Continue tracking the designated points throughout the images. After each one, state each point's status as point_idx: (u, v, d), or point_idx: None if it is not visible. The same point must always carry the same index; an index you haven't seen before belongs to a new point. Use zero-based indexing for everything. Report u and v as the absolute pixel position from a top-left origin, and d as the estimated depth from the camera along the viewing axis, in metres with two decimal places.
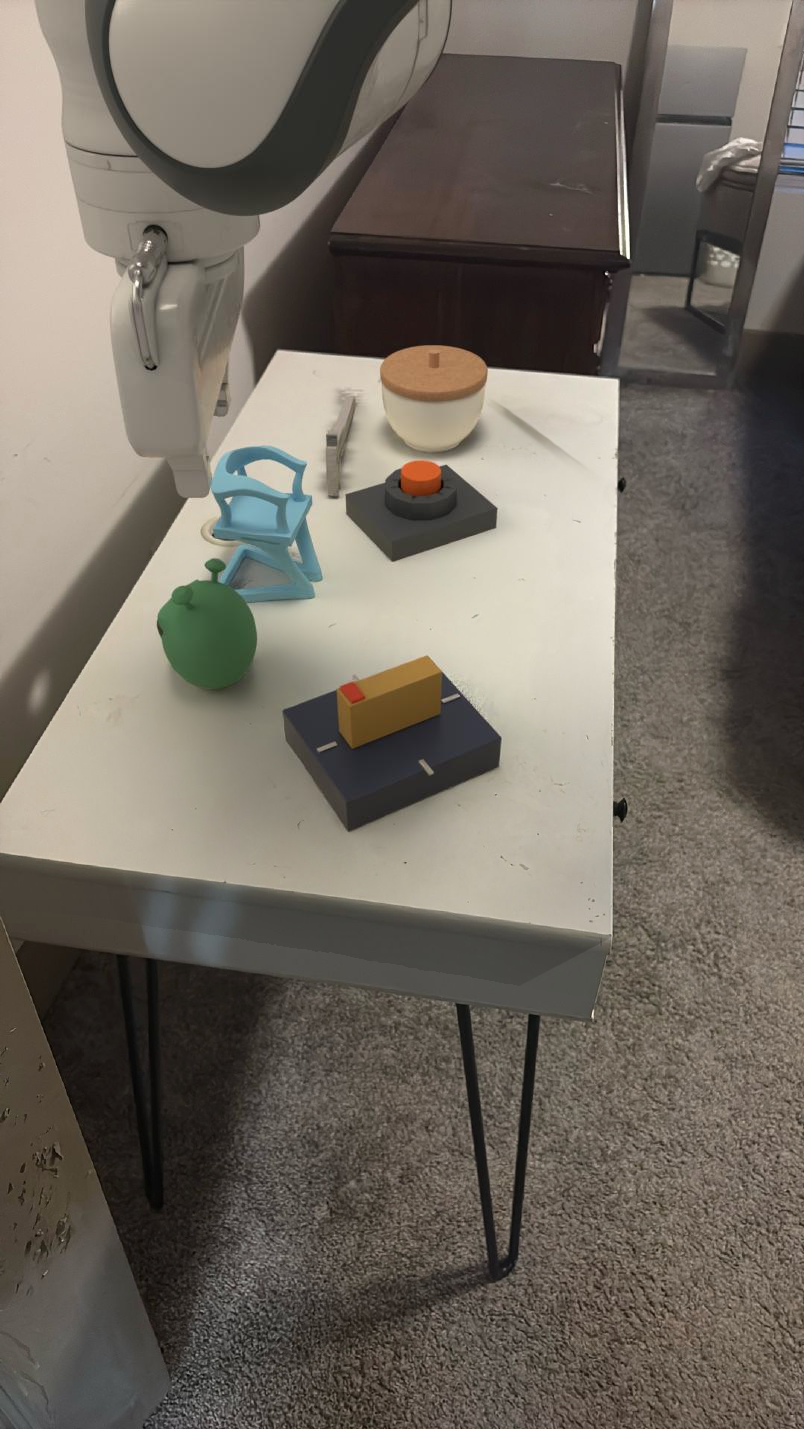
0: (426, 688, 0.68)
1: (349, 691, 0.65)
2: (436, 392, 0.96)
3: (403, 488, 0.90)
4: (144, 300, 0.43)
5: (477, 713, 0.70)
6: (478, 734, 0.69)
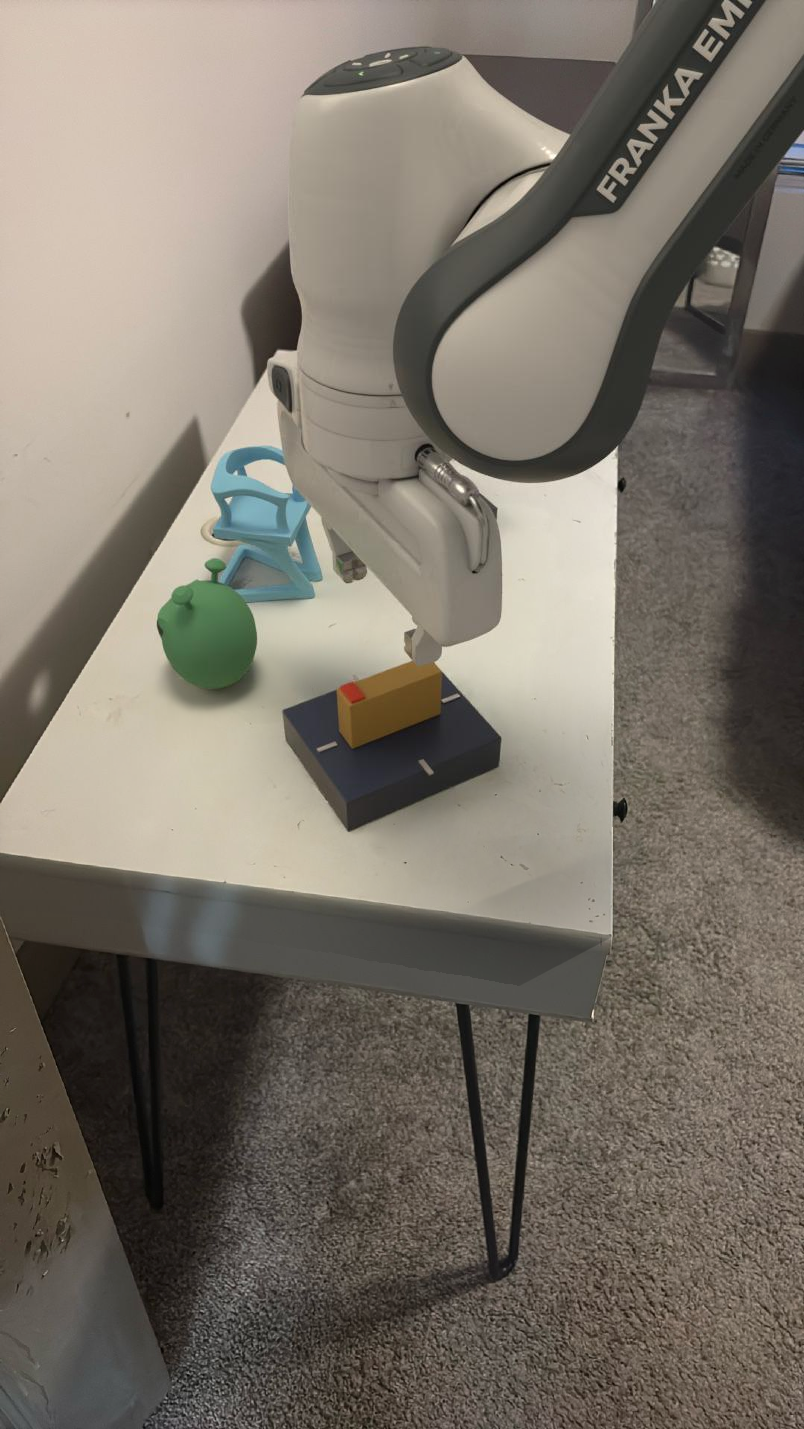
0: (426, 688, 0.68)
1: (349, 691, 0.65)
2: None
3: None
4: (489, 517, 0.48)
5: (477, 713, 0.70)
6: (478, 734, 0.69)
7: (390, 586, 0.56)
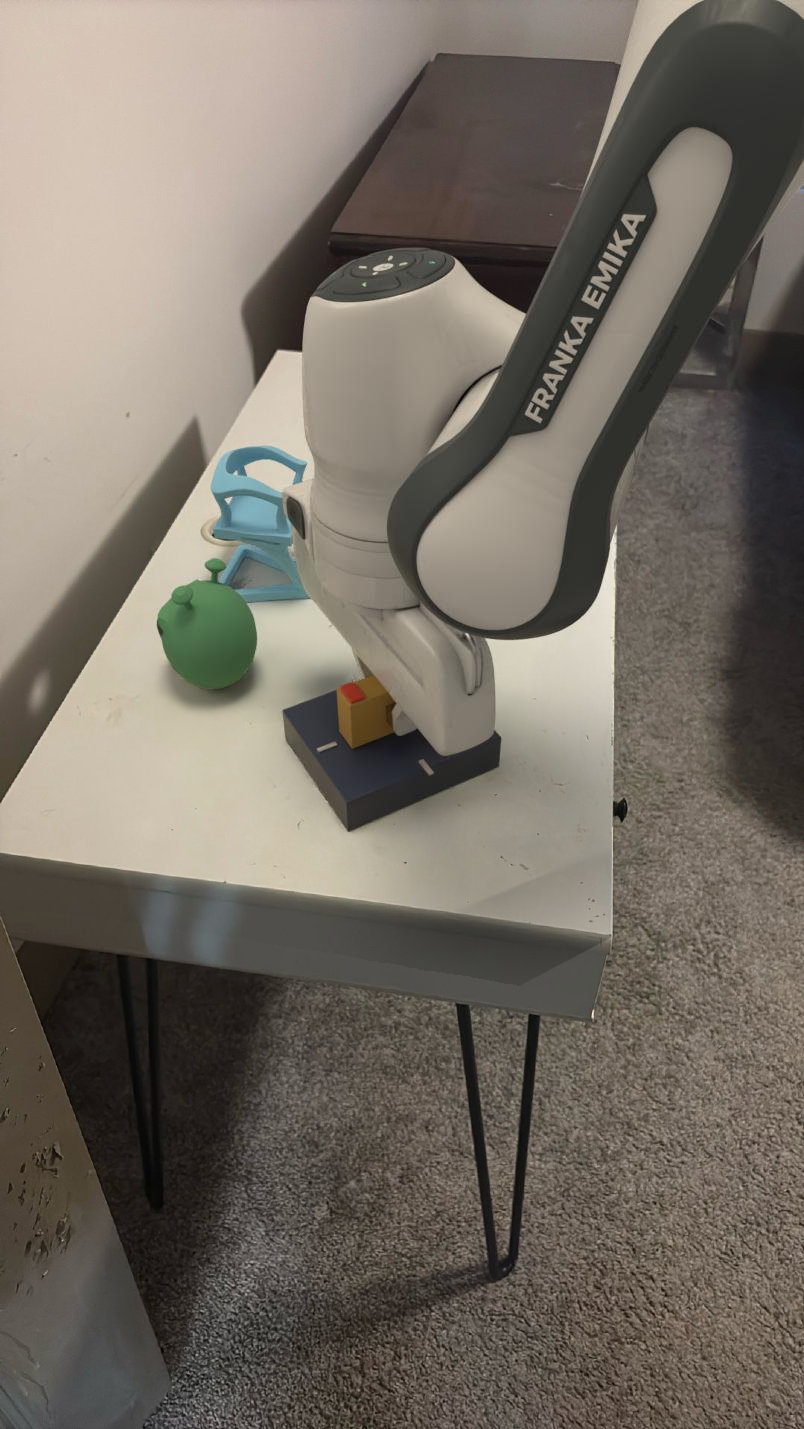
0: None
1: (349, 691, 0.65)
2: None
3: None
4: (482, 651, 0.54)
5: None
6: None
7: (395, 696, 0.62)
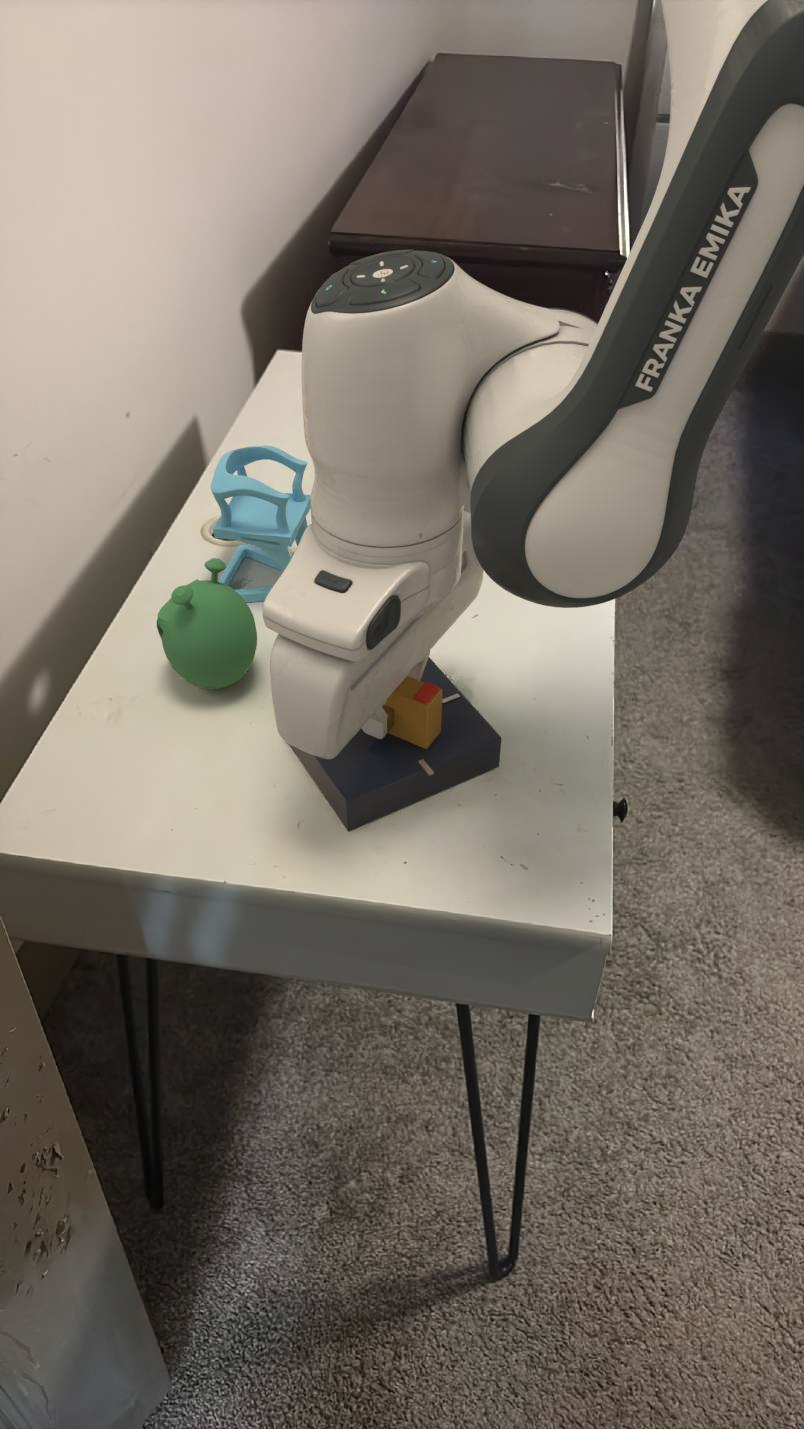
0: None
1: (428, 692, 0.65)
2: None
3: None
4: None
5: (477, 713, 0.70)
6: (478, 734, 0.69)
7: (444, 628, 0.67)
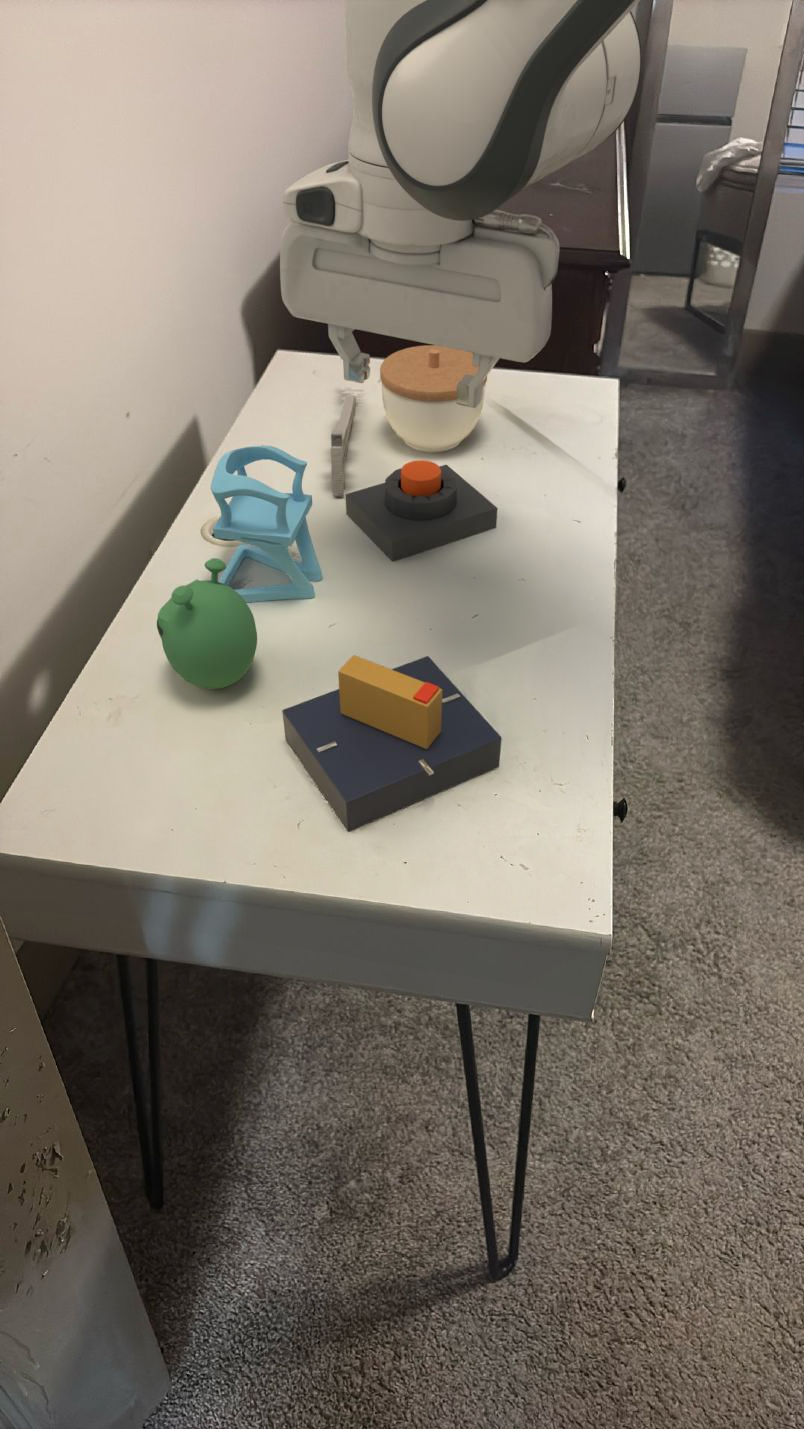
0: None
1: (428, 692, 0.65)
2: (436, 392, 0.96)
3: (403, 488, 0.90)
4: (556, 237, 0.65)
5: (477, 713, 0.70)
6: (478, 734, 0.69)
7: (455, 340, 0.71)
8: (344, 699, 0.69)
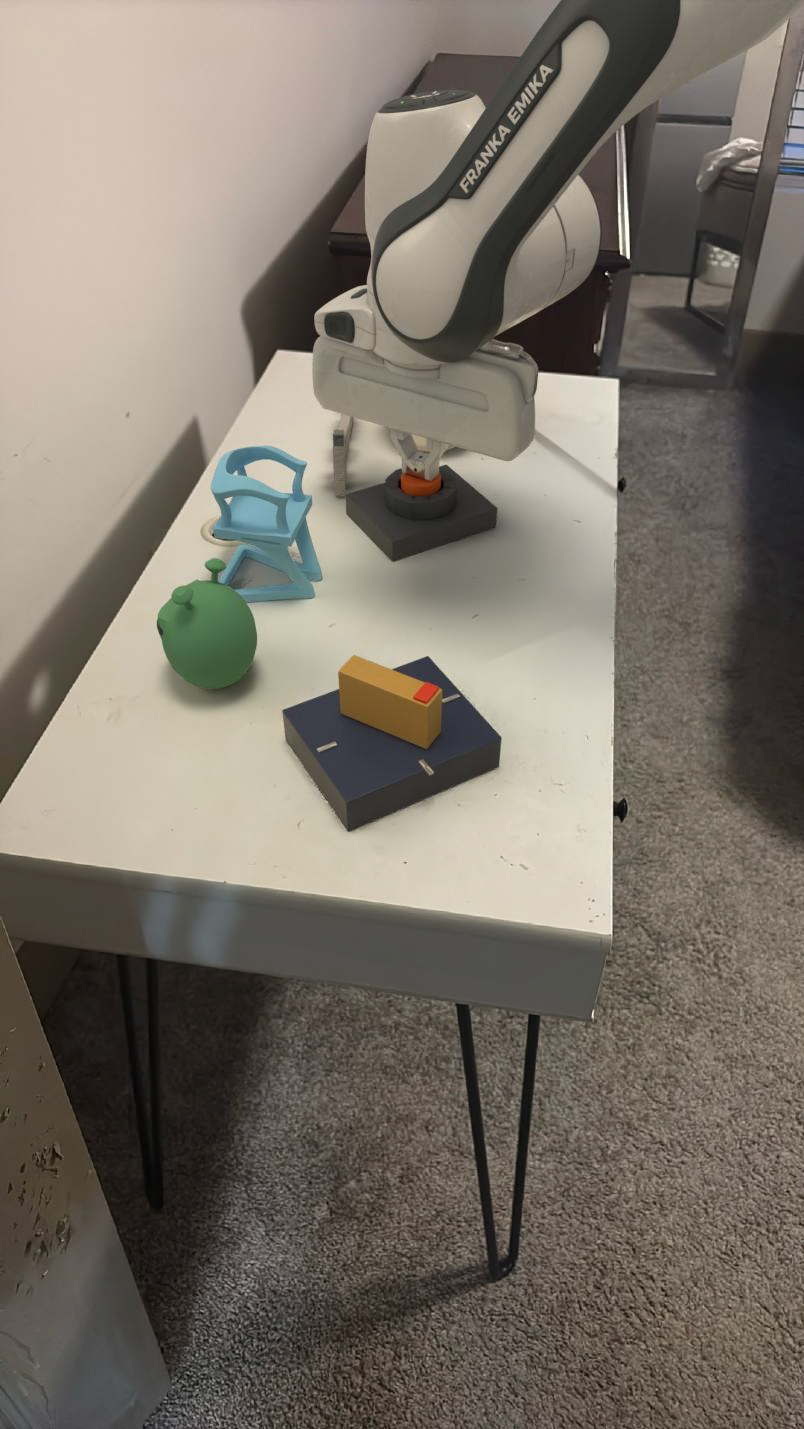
0: None
1: (428, 692, 0.65)
2: None
3: None
4: (535, 363, 0.78)
5: (477, 713, 0.70)
6: (478, 734, 0.69)
7: (452, 438, 0.84)
8: (344, 699, 0.69)
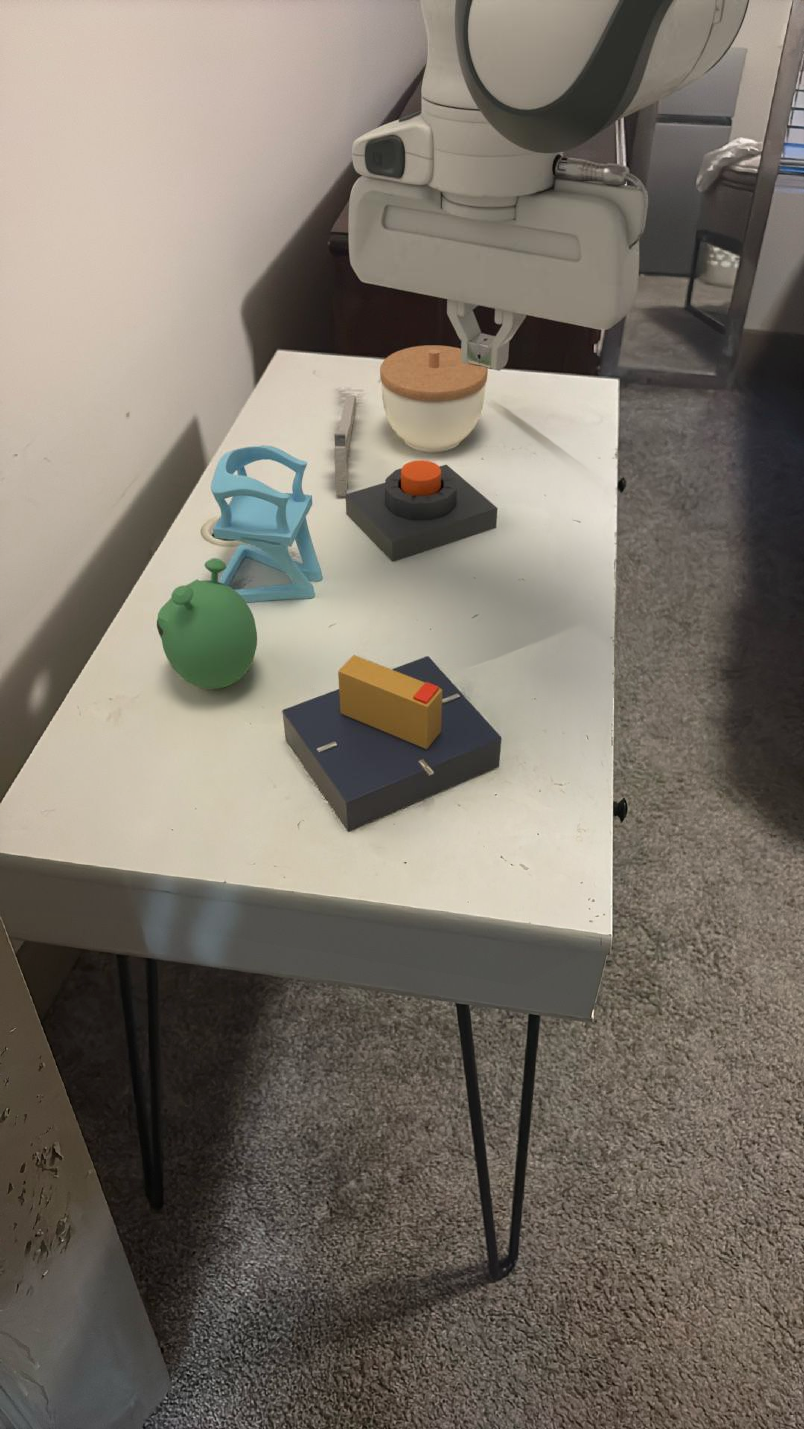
0: None
1: (428, 692, 0.65)
2: (436, 392, 0.96)
3: (403, 488, 0.90)
4: (645, 189, 0.59)
5: (477, 713, 0.70)
6: (478, 734, 0.69)
7: (530, 305, 0.65)
8: (344, 699, 0.69)
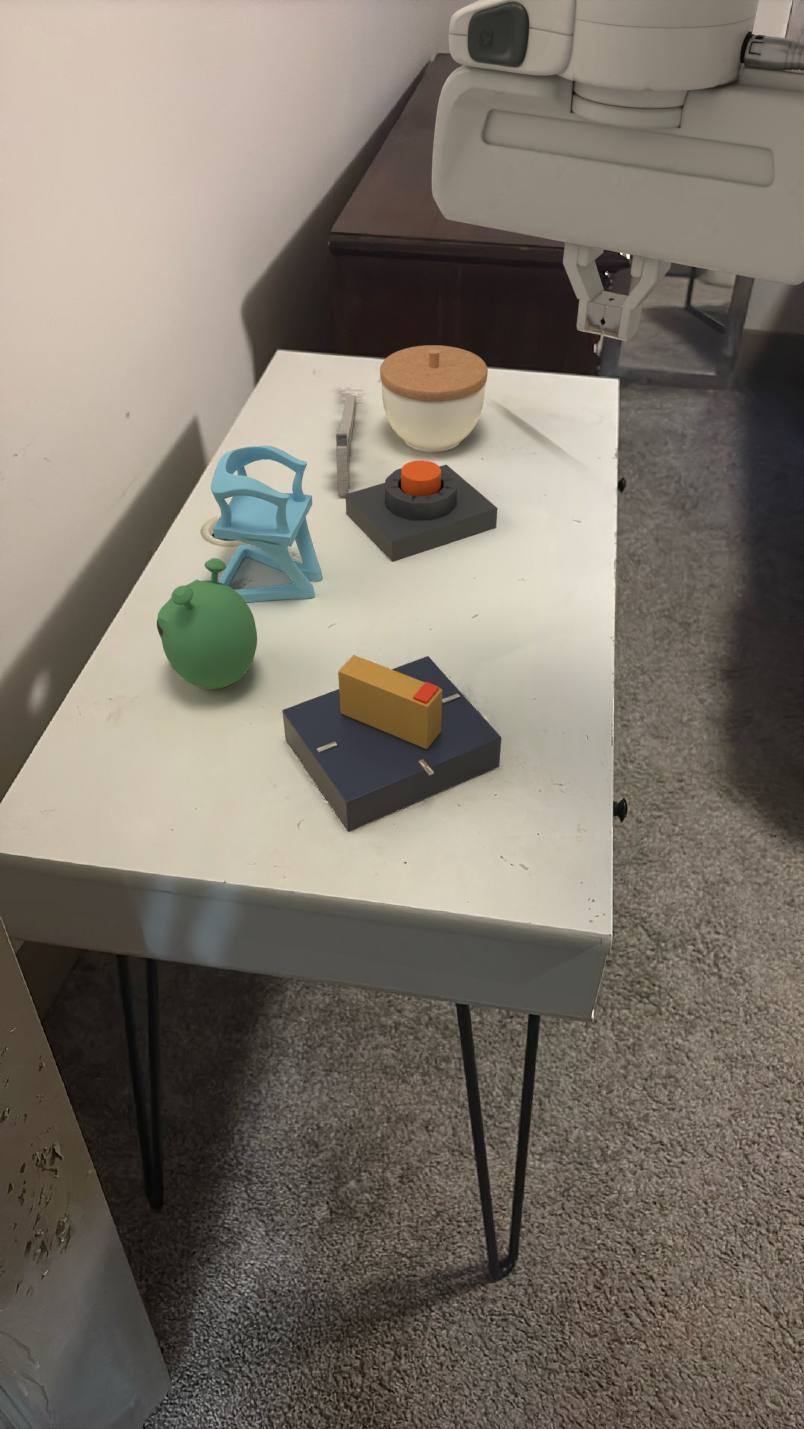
0: None
1: (428, 692, 0.65)
2: (436, 392, 0.96)
3: (403, 488, 0.90)
4: None
5: (477, 713, 0.70)
6: (478, 734, 0.69)
7: (689, 250, 0.47)
8: (344, 699, 0.69)
